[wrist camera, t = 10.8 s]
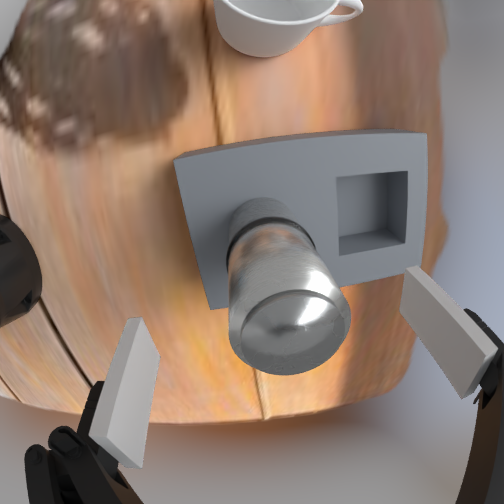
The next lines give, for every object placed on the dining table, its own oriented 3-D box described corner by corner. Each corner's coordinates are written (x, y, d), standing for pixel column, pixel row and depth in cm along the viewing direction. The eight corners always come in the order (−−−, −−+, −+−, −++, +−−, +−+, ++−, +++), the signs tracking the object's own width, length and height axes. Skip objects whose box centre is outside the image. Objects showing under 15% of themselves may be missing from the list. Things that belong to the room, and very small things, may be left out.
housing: (213, 278, 32) (210, 310, 27) (184, 152, 26) (173, 160, 21) (394, 245, 32) (420, 269, 27) (394, 128, 26) (426, 133, 21)
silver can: (233, 267, 25) (238, 391, 13) (220, 202, 23) (210, 297, 11) (300, 256, 25) (353, 368, 13) (294, 190, 23) (362, 270, 11)
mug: (338, 66, 23) (392, 44, 14) (216, 59, 22) (207, 24, 13) (335, -3, 20) (380, -45, 10) (217, -12, 19) (212, -67, 9)
